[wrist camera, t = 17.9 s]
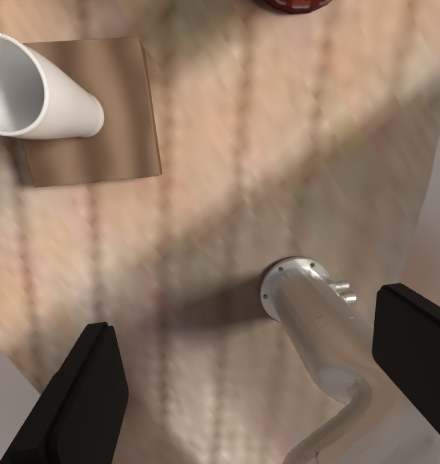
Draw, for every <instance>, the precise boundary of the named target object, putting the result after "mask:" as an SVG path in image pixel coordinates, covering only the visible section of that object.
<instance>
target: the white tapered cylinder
mask: <svg viewBox="0 0 440 464" xmlns="http://www.w3.org/2000/svg"><path fill="white" fill-rule="evenodd" d="M103 123H104V112H103V109H102V106H101V104H100V103H99V101H98V100H97V99H96V98H95V97H94V96H93V95H92V94H90V93H89V92H87V91H85V90H84V89H83V88H82V87H81V86H79V85H78V84H77V83H76V82H75V81H74V80H72V79H71V78H70V77H69V76H68V75H67V74H66V73H64V72H63V71H62V70H61V69H60V68H58V67H57V66H56V65H55V64H54V63H52V62H51V61H50V60H48V59H47V58H45V57H44V56H42V55H41V54H39V53H38V52H36V51H35V50H33V49H31V48H29V47H28V46H26V45H24V44H22V43H21V42H19V41H17V40H15V39H13V38H11V37H9V36H7V35H4V34H2V33H0V135H2V136H8V137H14V138H22V139H35V140H45V139H58V138H71V137H81V138H87V137H91V136H94V135H95V134H97V133H98V132H99V131H100V129H101V128H102V126H103Z"/></svg>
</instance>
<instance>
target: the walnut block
mask: <svg viewBox="0 0 440 464" xmlns="http://www.w3.org/2000/svg"><path fill="white" fill-rule="evenodd" d="M22 44H24V45H26V46H28V47H29V48H31V49H33V50H35V51H36V52H38V53H39V54H41V55H42V56H44V57H45V58H47V59H48V60H50V61H51V62H52V63H54V64H55V65H56V66H57V67H58V68H60V69H61V70H62V71H63V72H64V73H66V74H67V75H68V76H69V77H70V78H71V79H72V80H74V81H75V82H76V83H77V84H78V85H79V86H81V87H82V88H83V89H84V90H85V91H87V92H89V93H90V94H92V95H93V96H94V97H95V98H96V99H97V100H98V101H99V103H100V104H101V106H102V109H103V112H104V123H103V126H102V128H101V129H100V131H99V132H98V133H97V134H95V135H94V136H91V137H87V138H81V137H71V138H58V139H45V140H35V139H22V138H21V140H22V144H23V147H24V151H25V154H26V158H27V161H28V165H29V168H30V172H31V175H32V179H33V182H34V186H35V187H46V186H56V185H67V184H77V183H88V182H99V181H109V180H120V179H130V178H141V177H151V176H160V175H161V174H162V168H161V161H160V154H159V147H158V140H157V133H156V126H155V119H154V112H153V105H152V99H151V92H150V85H149V78H148V71H147V64H146V57H145V50H144V48H143V45H142V43H141V41H140V39H139V37H128V38H110V39H93V40H75V41H57V42H40V43H22Z"/></svg>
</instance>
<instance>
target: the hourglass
mask: <svg viewBox="0 0 440 464" xmlns="http://www.w3.org/2000/svg"><path fill="white" fill-rule="evenodd" d="M264 1H266V2H267V3H268V4H269V5H271V6H272V7H273V8H275V9H278V10H281V11H284V12H287V13H290V14H297V13H310V12H312V11H315V10H317V9H319V8H321V7H323V6H325V5H327V4H328V3H329V2H331V1H332V0H264Z"/></svg>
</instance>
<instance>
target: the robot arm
mask: <svg viewBox="0 0 440 464" xmlns="http://www.w3.org/2000/svg"><path fill="white" fill-rule="evenodd" d="M279 267H280V268H279ZM348 288H349V283H348V282H347V281H339V282H335V283H334V282H333V281H331V280H330V277H329V274H328V273H327V271H326V269H325V268H324V267H323V266H322V265H321V264H319V263H318V262H317V261H315V260H313V259H311V258H307V257H291V258H287V259H284V260H282V261H280V262H278V263H277V264H276V265H274V266H273V267H272V268H271V269H270V270H269V271H268V272H267V273H266V275H265V276H264V278H263V281H262V283H261V287H260V299H261V303H262V305H263V307H264V309H265V311H266V312H267V313H268V314H269V315H270V316H271V317H272V318H273V319H275V320H277V321H279V322H282V324H283V326H284V328H285V330H286V332H287V333H288V335H289V337H290V339H291V341H292V343H293V345H294V346H295V348H296V350H297V352H298V354H299V356H300V358H301V360H302V361H303V363H304V365H305V367H306V369H307V371H308V372H309V374H310V376H311V378H312V379H313V381H314V382H315V384H316V385H317V386H318V387H319V388H320V389H321V390H322V391H323V392H325V393H326V394H327V395H328V396H330V397H332V398H333V399H335V400H337V401H339V402H341V403H343V404H345V405H347V406H345V407H344V408H343V409H342V410H341V411H339V412H338V414H337V415H336V416H335V417H333V418H332V419H331V420H329V421H328V422H327V423H325V424H324V425H323V426H321V427H320V428H319V429H317V430H316V431H315V432H313V433H312V434H311V435H309V436H308V437H307V438H305V439H304V440H303V441H302V442H300V443H299V444H298V445H297V446H295V447H294V448H293V449H292V450H291V451H290V452H289V453H288V455H287V456H286V458H285V459H284V461H283V463H282V464H440V307H439V306H438V305H436V304H434V303H432V302H431V301H429V300H428V299H426V298H424V297H423V296H421V295H420V294H418V293H416V292H415V291H413V290H412V289H409V288H408V287H407V286H405V285H403V284H401V283H396V284H389V285H383V286H382V287H381V289H380V290H379V291H378V292H377V299H376V309H375V320H374V327H373V326H372V325H371V324H369V323H368V322H367V321H366V320H365V319H364V318H363V317H362V316H361V315H360V314H359V313H358V312H357V311H356V310H355V309H354V308H353V307H352V306H351V305H349V303H355V302H356V296H355V294H354V292H352V291H351V292H343V293H340V294H338V293H337V292H336V290H343V289H348ZM127 402H128V386H127V381H126V377H125V373H124V368H123V364H122V360H121V356H120V351H119V347H118V343H117V339H116V334H115V330H114V327H113V326H108V324H107V322H101V323H94V324H88V325H87V326H86V327H85V329H84V330H83V332H82V334H81V335H80V337H79V338H78V340H77V342H76V343H75V345H74V346H73V348H72V350H71V351H70V353H69V355H68V356H67V358H66V359H65V361H64V363H63V364H62V366H61V368H60V369H59V371H58V372H57V373H56V374H55V375H54V376H53V377H52V379H51V380H50V382H49V384H48V385H47V387H46V388H45V390H44V392H43V393H42V395H41V396H40V398H39V400H38V401H37V403H36V404H35V406H34V408H33V409H32V411H31V412H30V414H29V416H28V417H27V419H26V421H25V422H24V424H23V426H22V427H21V429H20V430H19V432H18V433H17V435H16V437H15V438H14V440H13V441H12V443H11V444H10V446H9V448H8V449H7V451H6V452H5V454H4V456H3V457H2V459H1V460H0V464H111V463H112V459H113V455H114V452H115V448H116V444H117V440H118V436H119V432H120V429H121V425H122V421H123V417H124V413H125V409H126V406H127Z"/></svg>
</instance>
